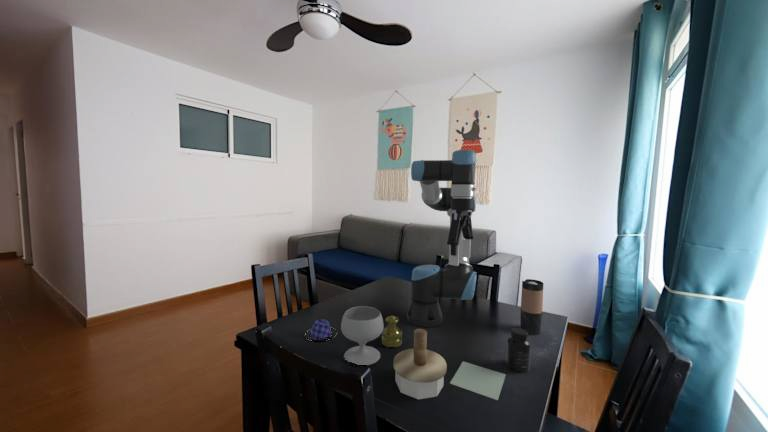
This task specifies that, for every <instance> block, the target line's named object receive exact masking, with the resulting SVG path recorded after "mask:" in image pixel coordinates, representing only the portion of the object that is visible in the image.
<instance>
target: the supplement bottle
mask: <svg viewBox="0 0 768 432" xmlns="http://www.w3.org/2000/svg"><path fill="white" fill-rule="evenodd" d="M506 341H507V342H506V357H505V358H506V359H505V360H506V361H505V363H506V366H507V368H508V369H510V370H511V371H514V372H516V373H521V374H524V373H529V371H530V370H531V369H530V368H531V356H532V355H531V352H532V343H531V341H530V340H529V334H528V332H527V331H526V330H524V329H522V328H520V327H513V328H511V329H510V336H509V337H508V338H507V340H506Z"/></svg>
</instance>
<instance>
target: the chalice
mask: <svg viewBox="0 0 768 432" xmlns="http://www.w3.org/2000/svg"><path fill="white" fill-rule="evenodd" d="M384 326H385V325H384V319H383V315H382V313H381V311H380V310H379V309H378V308H376V307H374V306H369V305H367V306H366V305H358V306H353V307H350V308H348V309H347V310H345V312H344V313H343V315H342V319H341V323H340V330H341V334H342V335H343V336H344V337H345V338H347V339H348V340H350V341H352V342H354V343H357V344H358V345H356V346H353V347H351V348H348V349H347V350H346V351H345V353H344V354H343V359H344V358H345V359H344V361H345V360H347V361H348V362H352V363H355V364H357V365H367V366H370V365H373V364H376V363H377V362H378V361H379V360H380V359H381V353H380V351H379V350H378V349H376V348H375V347H373V346H369V345H366V344H367V343H369V342H371V341H374V340H375V339H377V338H379V336H380V335H382V331H383V329H384V328H385V327H384Z"/></svg>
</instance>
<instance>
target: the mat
mask: <svg viewBox="0 0 768 432" xmlns="http://www.w3.org/2000/svg"><path fill="white" fill-rule="evenodd" d="M506 376H507V374H505V373H502V372H500V371H496V370H492V369H490V368H486V367H483V366H479V365H476V364H473V363H470V362H467V361H462V362H461V363H460V366H459V367H458V369H457V371H456V372H455V374H454V375H453V377H452V378H451V380H450V382H449V384H451V385H453V386H455V387H459V388H462V389H464V390H468V391H470V392H473V393H476V394H478V395H481V396H485V397H487V398H490V399H492V400H495V401H499V397H500V394H501V392H502V388H503V385H504V383H505V379H506Z"/></svg>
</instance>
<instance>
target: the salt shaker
mask: <svg viewBox="0 0 768 432" xmlns="http://www.w3.org/2000/svg"><path fill="white" fill-rule="evenodd" d="M384 320H385V323H387V326H386V327H383V331H382V333H381V344H382V345H383V346H384V347H385V348H389V347H396V348H399V347H400V346H401V345H402V344H403V336H402V335H403V331H402V329H401V328H399V326H397V324H398V323H399V322H400V318H399V317H397V316H395V315H390V316H387V317H385V319H384ZM398 346H399V347H398Z"/></svg>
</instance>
